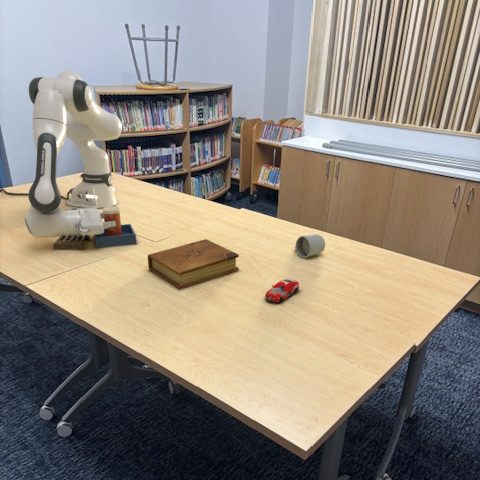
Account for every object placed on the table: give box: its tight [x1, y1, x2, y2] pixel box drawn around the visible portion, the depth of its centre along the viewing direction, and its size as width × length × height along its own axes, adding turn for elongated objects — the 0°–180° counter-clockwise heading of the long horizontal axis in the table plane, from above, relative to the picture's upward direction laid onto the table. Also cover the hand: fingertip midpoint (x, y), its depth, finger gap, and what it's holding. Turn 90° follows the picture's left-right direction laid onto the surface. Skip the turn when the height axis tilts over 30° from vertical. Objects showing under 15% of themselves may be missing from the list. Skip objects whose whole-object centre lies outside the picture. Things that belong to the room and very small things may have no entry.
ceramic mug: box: [294, 233, 326, 259], centre depth 170 cm, size 11×8×8 cm
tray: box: [93, 223, 138, 249], centre depth 179 cm, size 14×12×4 cm
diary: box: [147, 238, 240, 290], centre depth 156 cm, size 23×19×6 cm
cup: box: [102, 205, 122, 237], centre depth 177 cm, size 6×6×12 cm
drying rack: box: [52, 234, 91, 250], centre depth 175 cm, size 10×10×2 cm
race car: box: [264, 278, 300, 304], centre depth 141 cm, size 13×5×4 cm, turn 140°
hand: (114, 219), depth 176 cm, fingers open, 8 cm apart
